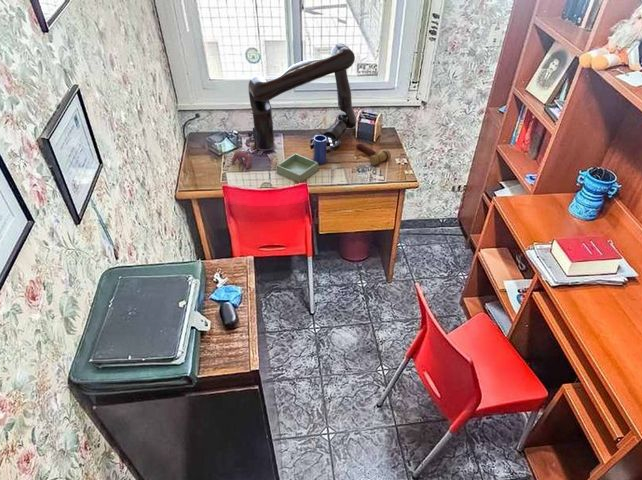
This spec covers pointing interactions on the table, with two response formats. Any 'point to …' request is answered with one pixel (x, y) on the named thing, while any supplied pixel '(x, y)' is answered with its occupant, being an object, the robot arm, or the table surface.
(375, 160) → the gavel
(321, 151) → the pencil cup
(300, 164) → the bin
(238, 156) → the video game controller
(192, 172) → the table surface
